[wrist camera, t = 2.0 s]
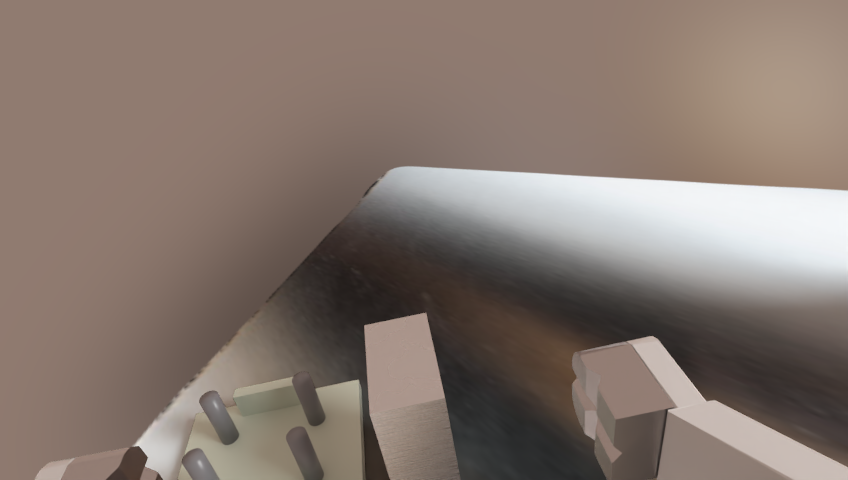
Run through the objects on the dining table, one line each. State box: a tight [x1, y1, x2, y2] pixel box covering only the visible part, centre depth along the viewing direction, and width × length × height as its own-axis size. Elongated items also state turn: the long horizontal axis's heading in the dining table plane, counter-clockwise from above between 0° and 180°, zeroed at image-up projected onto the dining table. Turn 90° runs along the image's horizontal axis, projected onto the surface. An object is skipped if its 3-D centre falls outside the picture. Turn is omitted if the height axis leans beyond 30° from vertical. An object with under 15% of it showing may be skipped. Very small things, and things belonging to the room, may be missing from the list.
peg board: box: [177, 372, 366, 480], centre depth 33 cm, size 12×10×5 cm
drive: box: [364, 313, 460, 480], centre depth 29 cm, size 4×6×11 cm, turn 8°
